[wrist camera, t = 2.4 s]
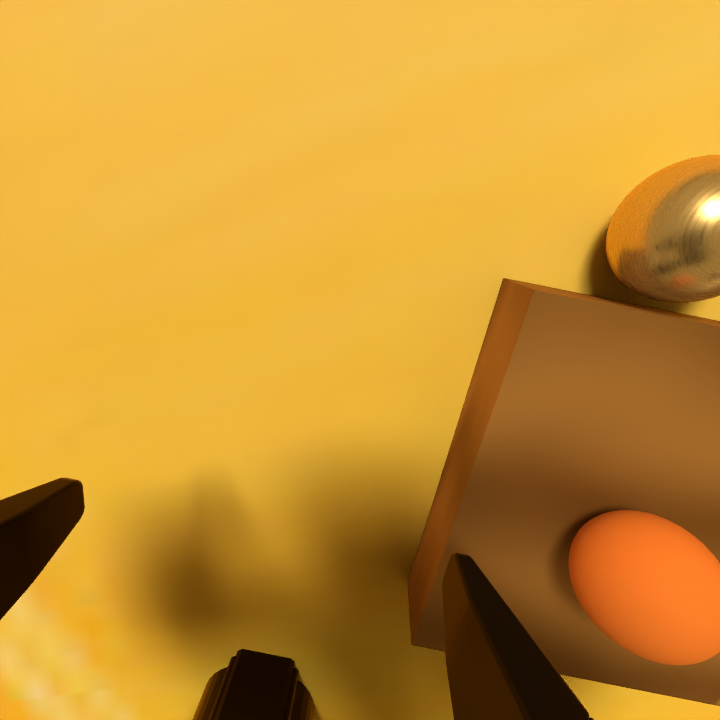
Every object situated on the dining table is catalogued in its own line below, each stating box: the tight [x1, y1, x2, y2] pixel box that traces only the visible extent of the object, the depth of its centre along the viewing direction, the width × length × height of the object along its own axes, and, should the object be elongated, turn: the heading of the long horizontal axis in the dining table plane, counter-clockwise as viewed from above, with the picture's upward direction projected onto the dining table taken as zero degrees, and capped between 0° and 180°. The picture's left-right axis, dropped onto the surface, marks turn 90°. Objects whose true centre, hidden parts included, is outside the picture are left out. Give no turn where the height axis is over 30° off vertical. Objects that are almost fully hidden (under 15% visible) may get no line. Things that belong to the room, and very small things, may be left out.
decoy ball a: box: [606, 155, 720, 302], centre depth 9 cm, size 3×3×3 cm
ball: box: [568, 510, 720, 665], centre depth 10 cm, size 3×3×3 cm
